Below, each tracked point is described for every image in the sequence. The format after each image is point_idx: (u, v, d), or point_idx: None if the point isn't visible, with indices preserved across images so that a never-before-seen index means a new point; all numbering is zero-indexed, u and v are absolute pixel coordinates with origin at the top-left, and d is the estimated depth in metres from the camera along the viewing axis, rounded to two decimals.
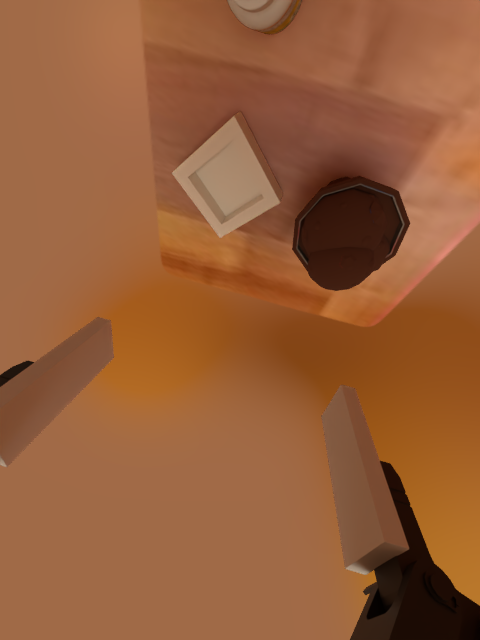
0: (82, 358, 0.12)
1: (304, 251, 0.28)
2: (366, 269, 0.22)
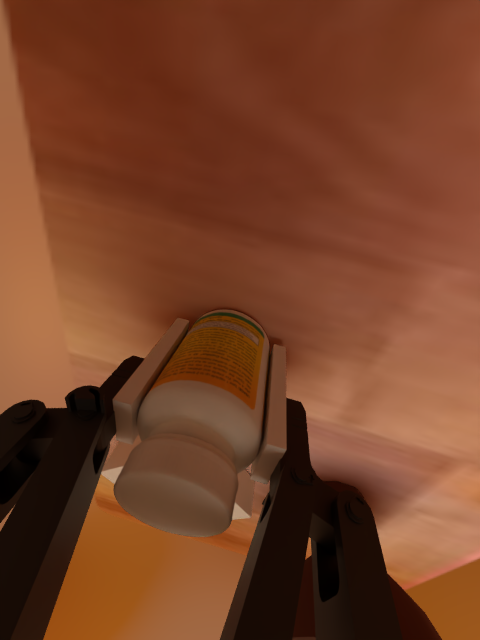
0: (173, 353, 0.13)
1: None
2: None
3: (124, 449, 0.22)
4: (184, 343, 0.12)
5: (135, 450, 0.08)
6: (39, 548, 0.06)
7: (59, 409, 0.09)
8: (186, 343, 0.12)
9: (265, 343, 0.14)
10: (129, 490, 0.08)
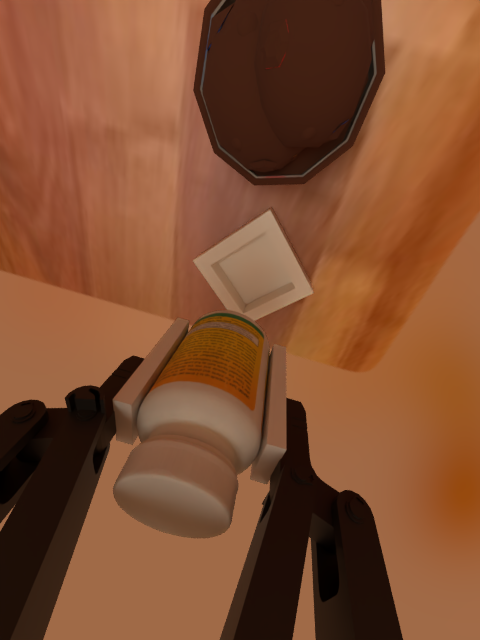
0: (173, 353, 0.13)
1: (315, 160, 0.17)
2: None
3: None
4: (184, 344, 0.12)
5: (134, 452, 0.08)
6: (39, 548, 0.06)
7: (59, 409, 0.09)
8: (186, 344, 0.12)
9: (265, 344, 0.14)
10: (129, 492, 0.08)
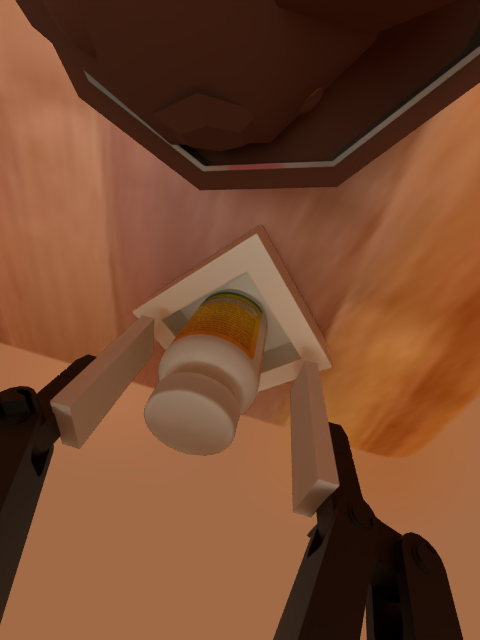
0: (133, 352, 0.13)
1: (369, 118, 0.06)
2: None
3: None
4: (195, 314, 0.15)
5: (160, 382, 0.10)
6: None
7: None
8: (197, 313, 0.14)
9: (263, 318, 0.16)
10: (157, 410, 0.10)
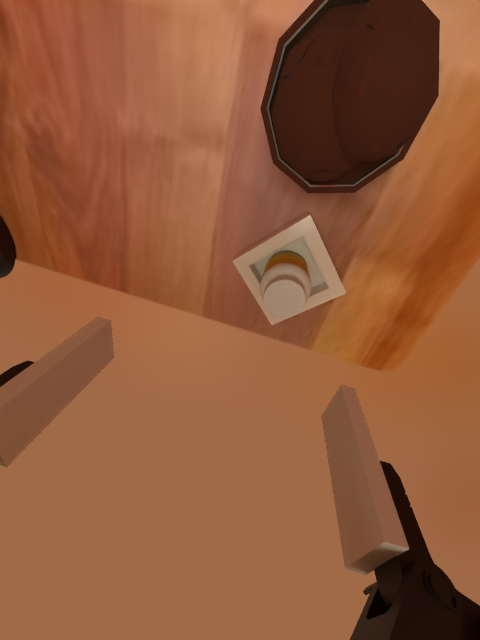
0: (82, 358, 0.12)
1: (365, 171, 0.18)
2: (382, 26, 0.11)
3: None
4: (273, 259, 0.27)
5: (271, 281, 0.23)
6: None
7: None
8: (274, 259, 0.27)
9: None
10: (271, 291, 0.23)
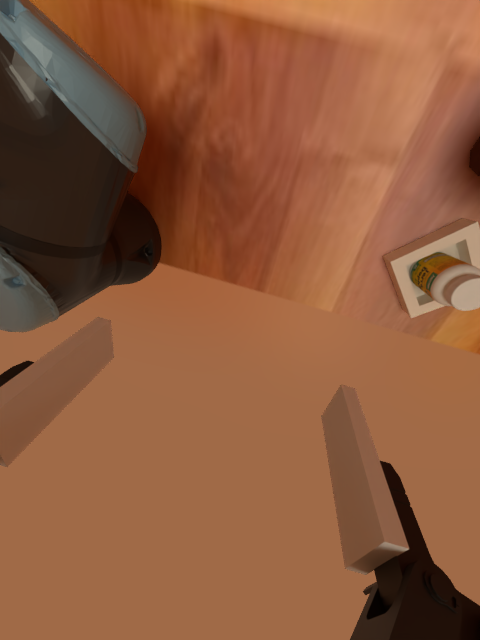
0: (82, 358, 0.12)
1: None
2: None
3: (402, 302, 0.38)
4: (435, 260, 0.31)
5: (459, 279, 0.27)
6: None
7: None
8: (437, 260, 0.31)
9: None
10: (462, 288, 0.27)
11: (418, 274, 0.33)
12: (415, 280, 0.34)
